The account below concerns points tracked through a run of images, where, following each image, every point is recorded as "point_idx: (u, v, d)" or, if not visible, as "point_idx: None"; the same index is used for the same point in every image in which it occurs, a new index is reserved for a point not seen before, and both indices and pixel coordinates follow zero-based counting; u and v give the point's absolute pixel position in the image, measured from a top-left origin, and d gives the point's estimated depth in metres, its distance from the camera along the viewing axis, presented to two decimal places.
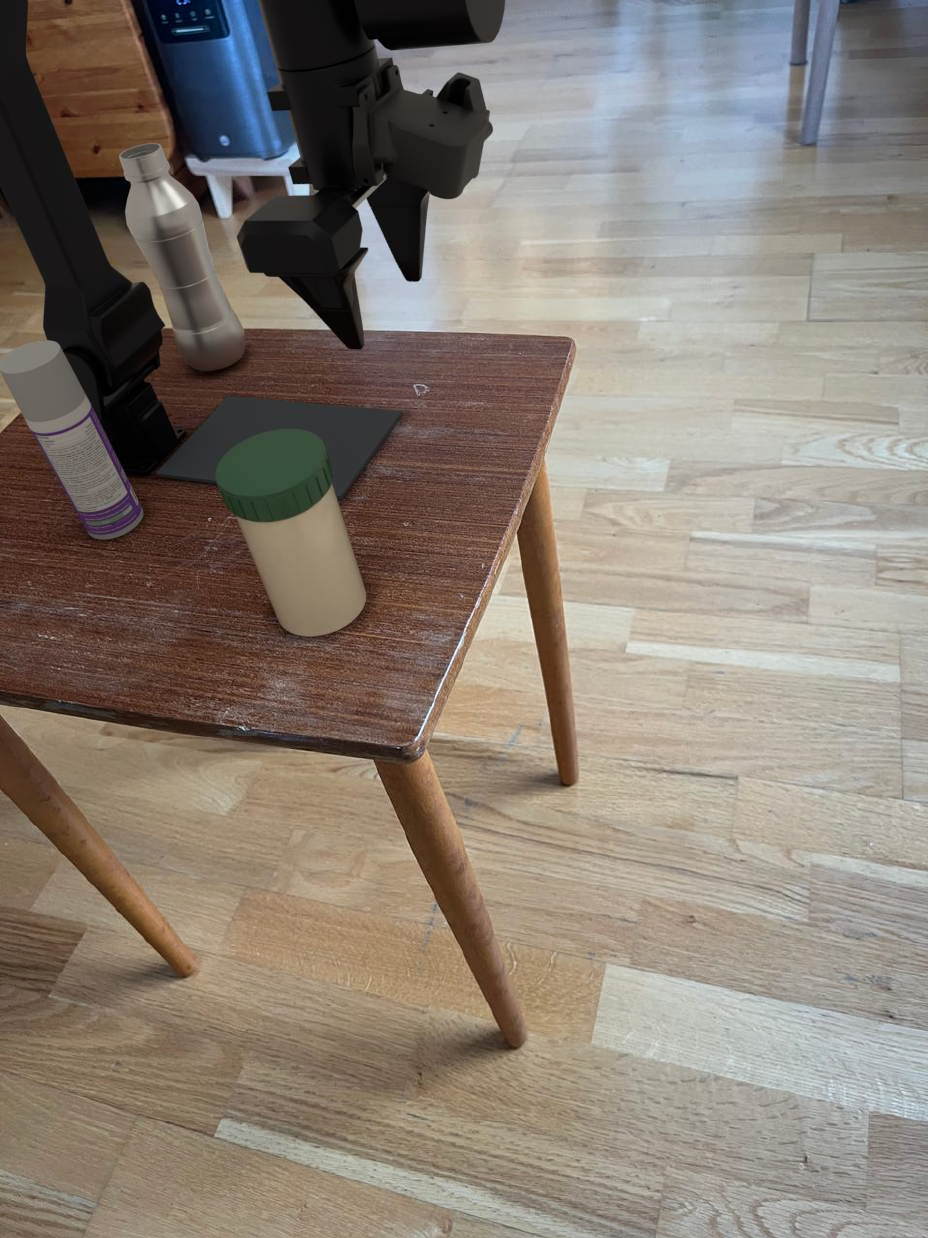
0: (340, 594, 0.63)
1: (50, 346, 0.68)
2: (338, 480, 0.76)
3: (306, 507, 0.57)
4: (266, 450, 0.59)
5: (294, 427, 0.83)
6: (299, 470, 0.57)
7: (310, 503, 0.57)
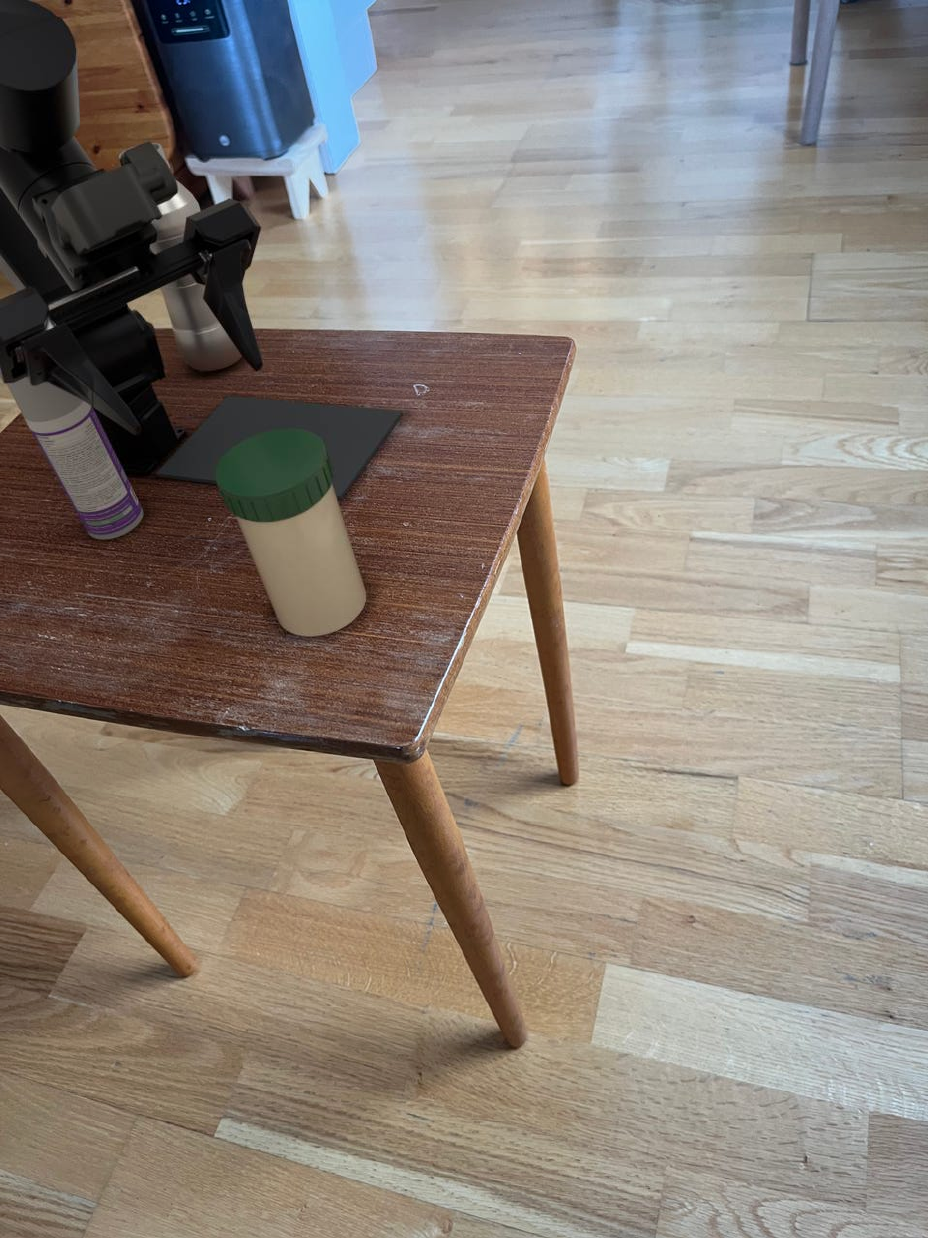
0: (340, 594, 0.63)
1: None
2: (338, 480, 0.76)
3: (306, 507, 0.57)
4: (266, 450, 0.59)
5: (294, 427, 0.83)
6: (299, 470, 0.57)
7: (310, 503, 0.57)
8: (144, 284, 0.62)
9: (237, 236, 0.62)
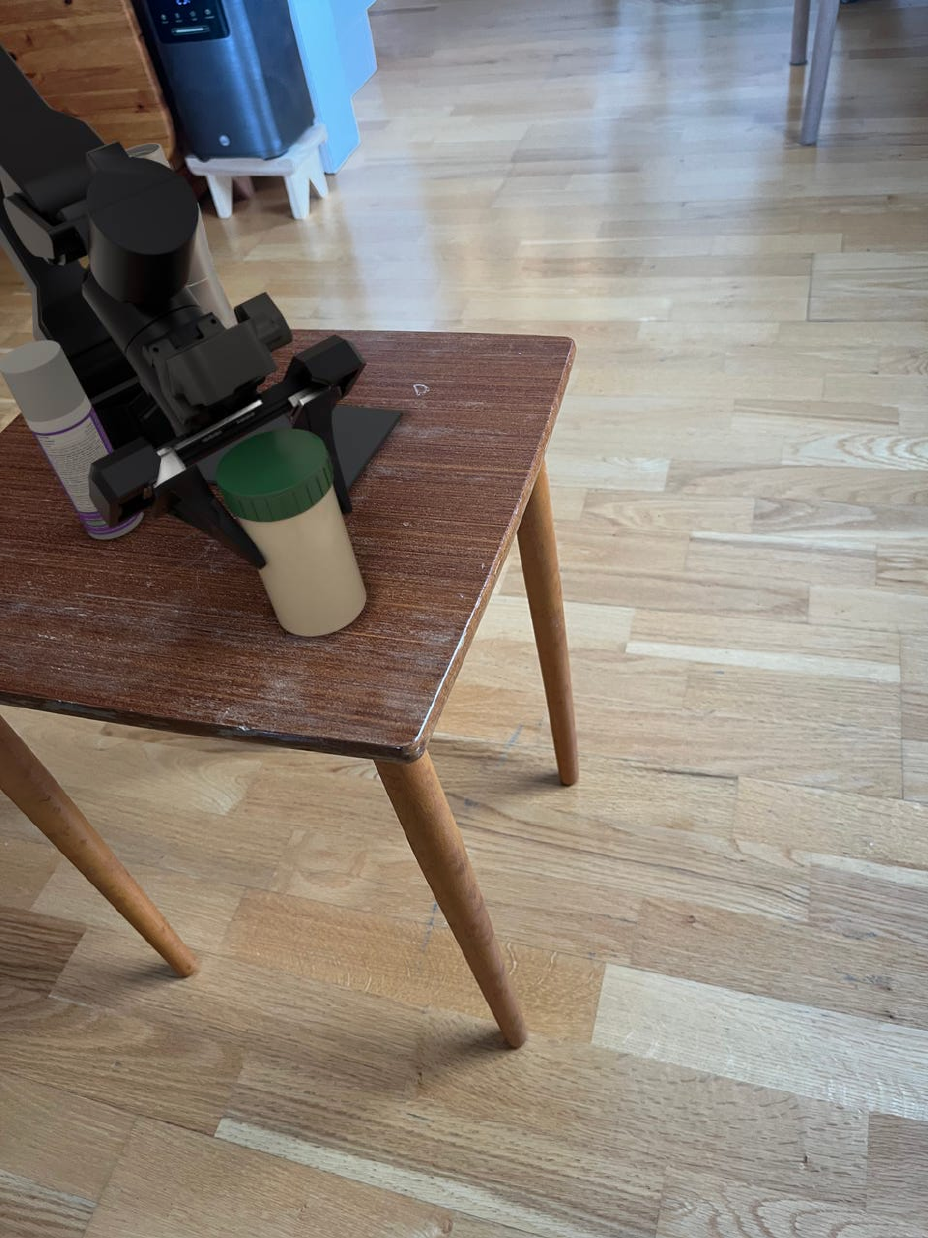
0: (340, 594, 0.63)
1: (50, 345, 0.68)
2: None
3: (306, 507, 0.57)
4: (266, 450, 0.59)
5: None
6: (299, 470, 0.57)
7: (310, 503, 0.57)
8: (234, 433, 0.60)
9: (344, 375, 0.61)
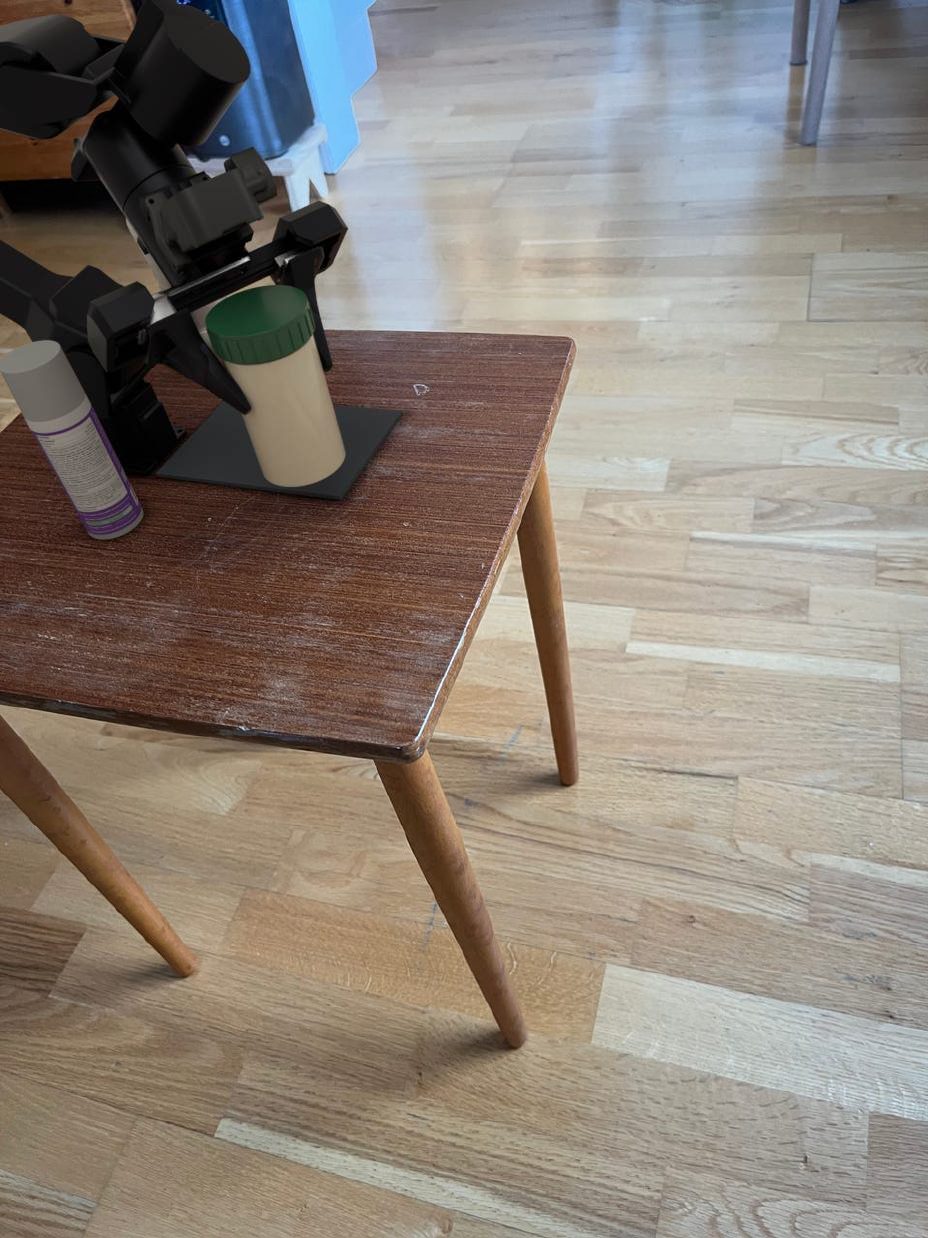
0: (320, 445, 0.68)
1: (50, 345, 0.68)
2: (338, 480, 0.76)
3: (288, 351, 0.62)
4: (253, 301, 0.64)
5: None
6: (282, 316, 0.62)
7: (292, 348, 0.62)
8: (223, 287, 0.65)
9: (326, 236, 0.66)
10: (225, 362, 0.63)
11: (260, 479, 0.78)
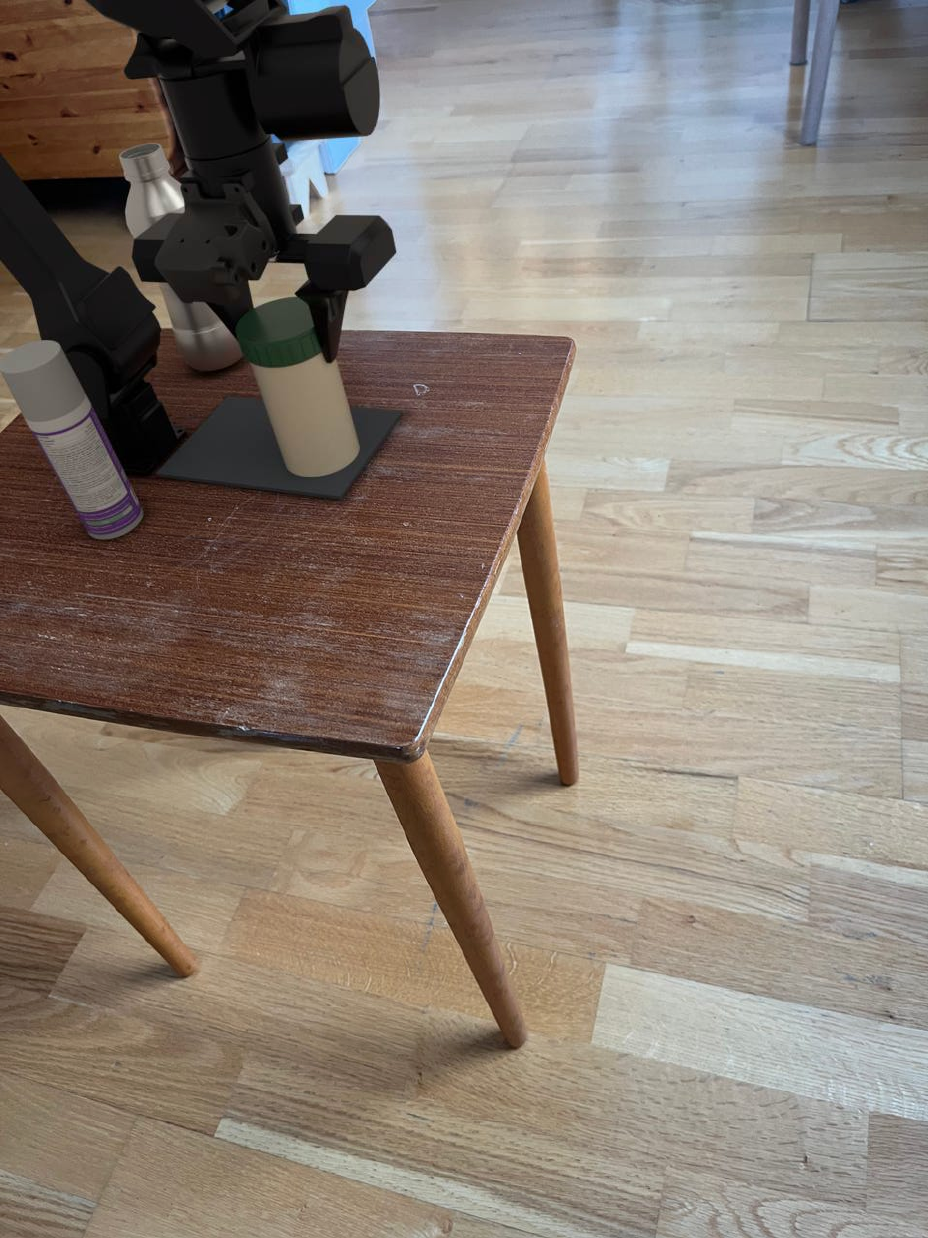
0: (338, 439, 0.75)
1: (50, 345, 0.68)
2: (338, 480, 0.76)
3: (310, 355, 0.70)
4: (277, 311, 0.72)
5: None
6: (305, 324, 0.69)
7: (314, 352, 0.70)
8: None
9: None
10: (254, 366, 0.71)
11: (260, 479, 0.78)
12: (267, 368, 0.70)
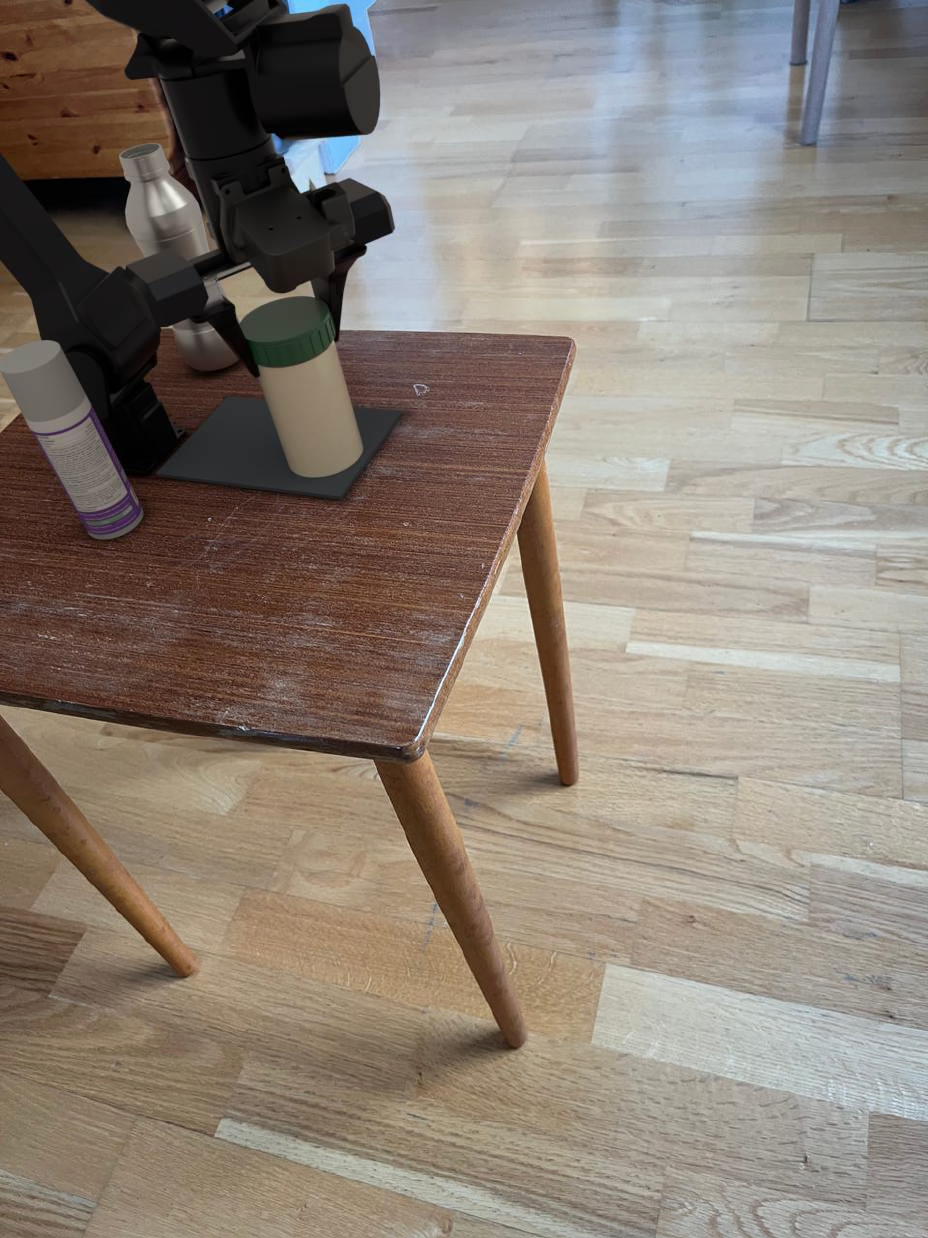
0: (349, 433, 0.76)
1: (50, 345, 0.68)
2: (338, 480, 0.76)
3: (334, 332, 0.72)
4: (268, 318, 0.71)
5: None
6: (315, 308, 0.71)
7: (334, 329, 0.72)
8: None
9: None
10: (264, 369, 0.71)
11: (260, 479, 0.78)
12: (281, 368, 0.70)
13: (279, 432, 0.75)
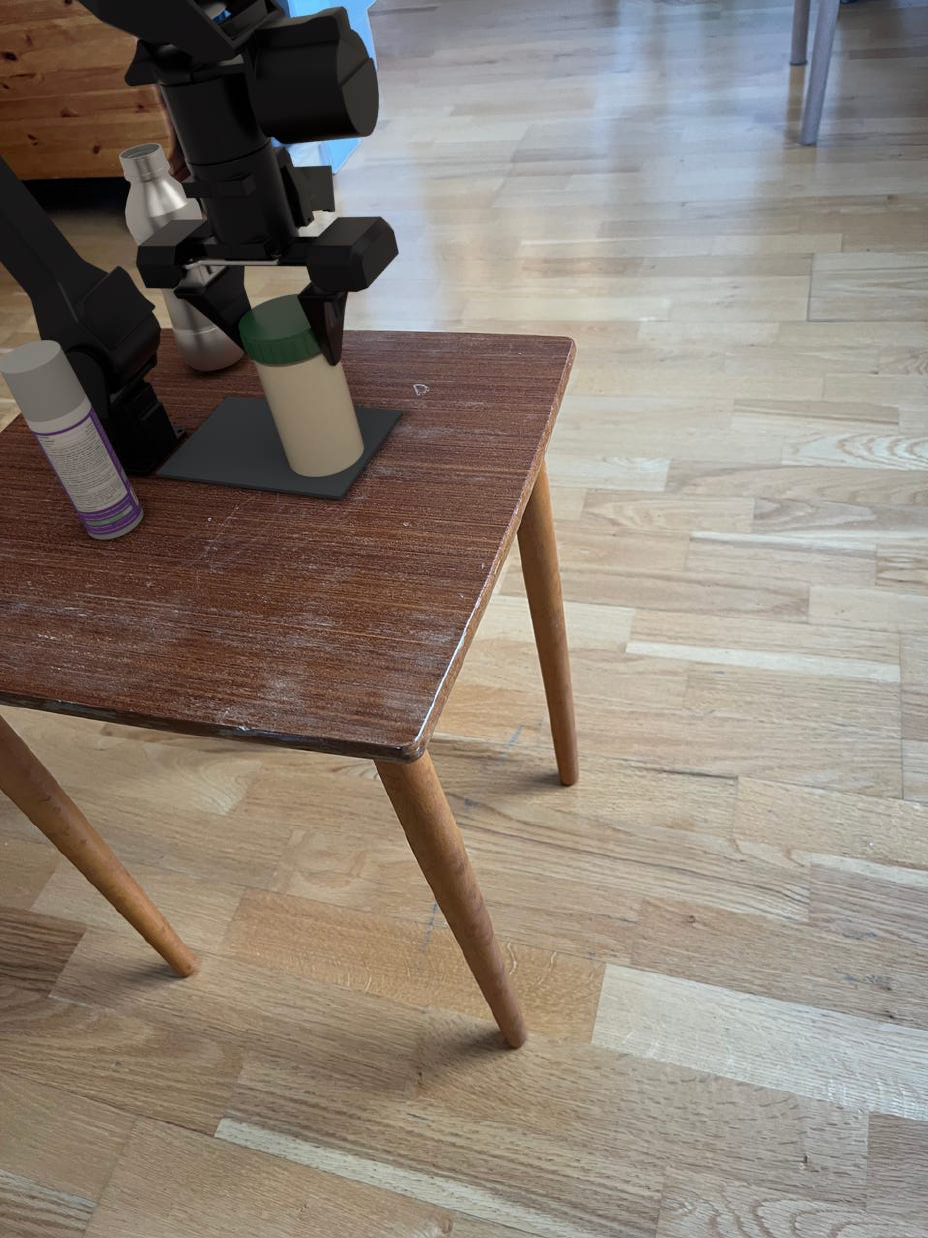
0: (352, 430, 0.76)
1: (50, 345, 0.68)
2: (338, 480, 0.76)
3: None
4: (287, 322, 0.70)
5: None
6: (260, 310, 0.72)
7: None
8: None
9: None
10: (268, 369, 0.71)
11: (260, 479, 0.78)
12: (286, 367, 0.70)
13: (282, 433, 0.75)
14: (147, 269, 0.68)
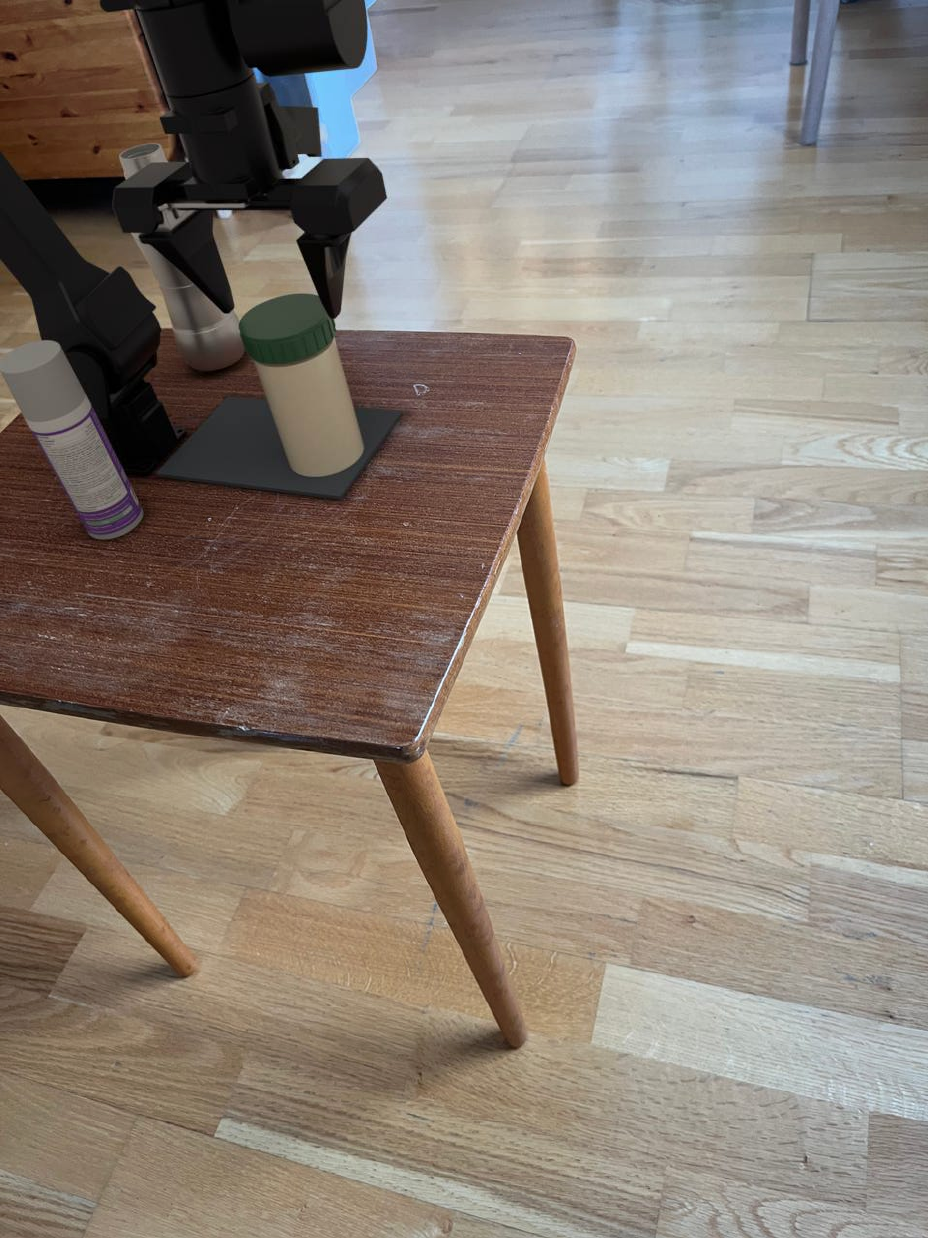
0: (352, 430, 0.76)
1: (50, 345, 0.68)
2: (338, 480, 0.76)
3: None
4: (287, 322, 0.70)
5: None
6: (260, 310, 0.72)
7: None
8: None
9: None
10: (268, 369, 0.71)
11: (260, 479, 0.78)
12: (286, 367, 0.70)
13: (282, 433, 0.75)
14: (124, 212, 0.65)
